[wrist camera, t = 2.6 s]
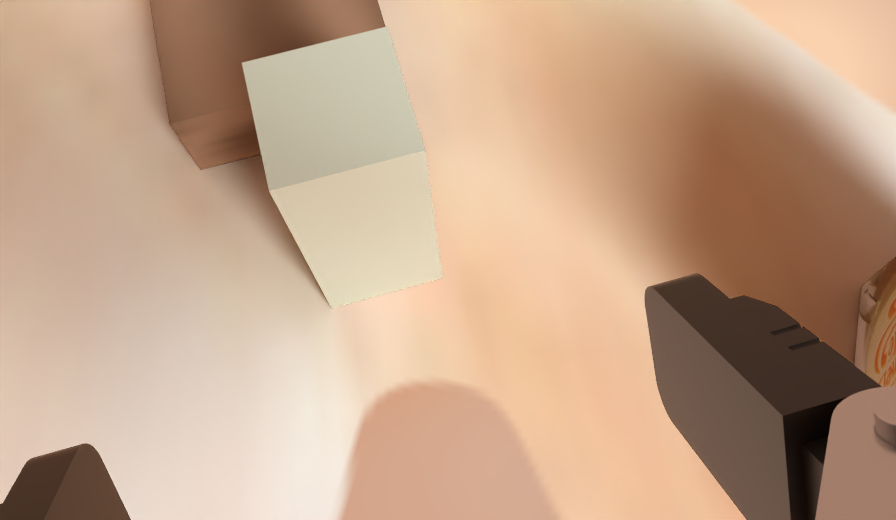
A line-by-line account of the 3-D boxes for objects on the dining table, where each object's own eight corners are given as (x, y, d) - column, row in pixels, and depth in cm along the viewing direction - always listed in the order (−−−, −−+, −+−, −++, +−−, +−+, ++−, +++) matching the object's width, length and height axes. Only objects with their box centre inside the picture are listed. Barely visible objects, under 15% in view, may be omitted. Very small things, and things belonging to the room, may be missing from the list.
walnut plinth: (200, 169, 38) (169, 123, 34) (172, 7, 42) (141, -50, 38) (405, 116, 39) (397, 65, 35) (359, -39, 42) (347, -100, 39)
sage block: (331, 308, 35) (269, 191, 25) (308, 209, 37) (241, 62, 27) (442, 278, 35) (425, 150, 25) (413, 181, 37) (387, 26, 27)
